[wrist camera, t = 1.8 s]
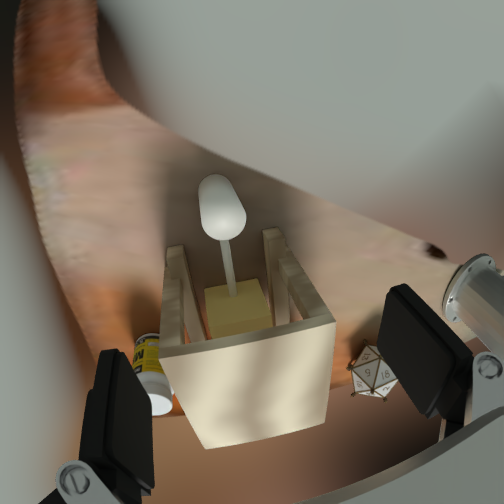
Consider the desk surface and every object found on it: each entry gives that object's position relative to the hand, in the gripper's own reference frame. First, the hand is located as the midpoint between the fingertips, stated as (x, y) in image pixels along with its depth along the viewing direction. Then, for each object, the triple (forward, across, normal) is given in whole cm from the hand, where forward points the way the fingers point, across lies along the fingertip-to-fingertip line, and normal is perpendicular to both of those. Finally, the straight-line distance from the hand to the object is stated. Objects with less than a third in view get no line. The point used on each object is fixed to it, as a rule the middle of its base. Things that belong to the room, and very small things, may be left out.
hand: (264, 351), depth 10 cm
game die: (+19, -17, +27) cm, 37 cm away
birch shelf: (+19, 0, +14) cm, 23 cm away
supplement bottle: (+19, +10, +17) cm, 27 cm away
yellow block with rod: (+19, 0, +7) cm, 20 cm away
